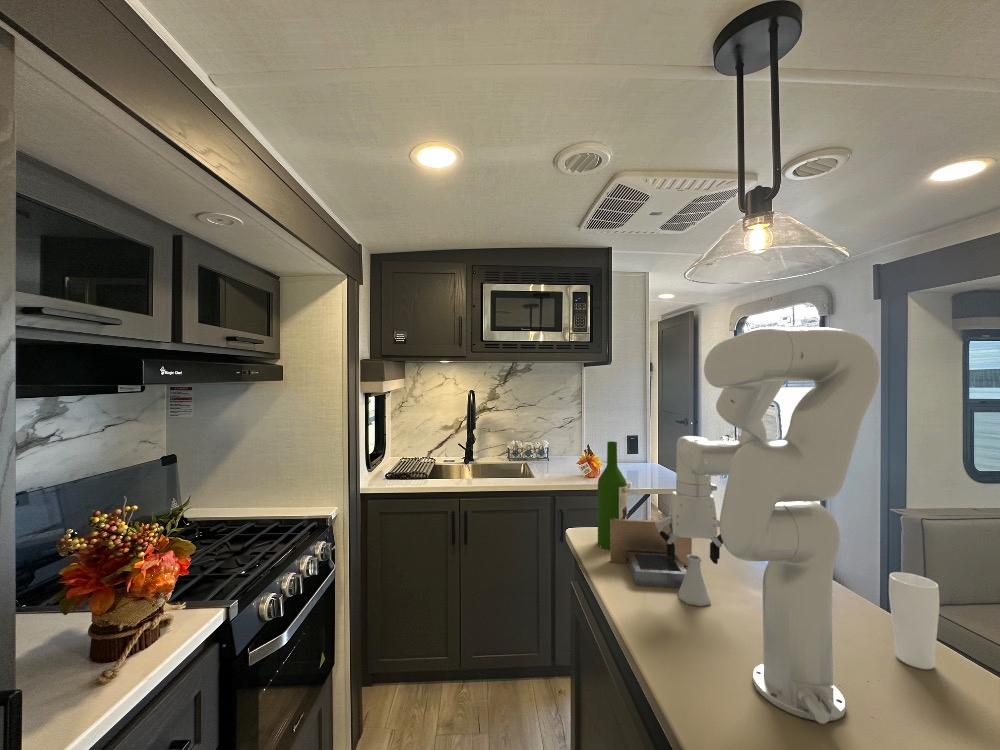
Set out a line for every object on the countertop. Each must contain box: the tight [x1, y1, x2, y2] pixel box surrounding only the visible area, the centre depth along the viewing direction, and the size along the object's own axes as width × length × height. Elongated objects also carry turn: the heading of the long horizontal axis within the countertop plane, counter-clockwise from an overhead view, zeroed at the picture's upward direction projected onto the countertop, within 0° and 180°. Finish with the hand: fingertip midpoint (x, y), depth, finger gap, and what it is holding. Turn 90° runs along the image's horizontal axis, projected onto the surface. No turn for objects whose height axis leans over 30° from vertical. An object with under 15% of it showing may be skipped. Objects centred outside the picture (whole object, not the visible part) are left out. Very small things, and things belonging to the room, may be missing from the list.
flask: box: [677, 554, 712, 607], centre depth 104 cm, size 7×7×10 cm
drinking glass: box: [888, 571, 940, 670], centre depth 81 cm, size 7×7×15 cm
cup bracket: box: [609, 518, 693, 589], centre depth 118 cm, size 15×22×12 cm
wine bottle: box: [597, 441, 628, 550], centre depth 139 cm, size 9×9×32 cm
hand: (692, 560), depth 105 cm, fingers open, 9 cm apart
